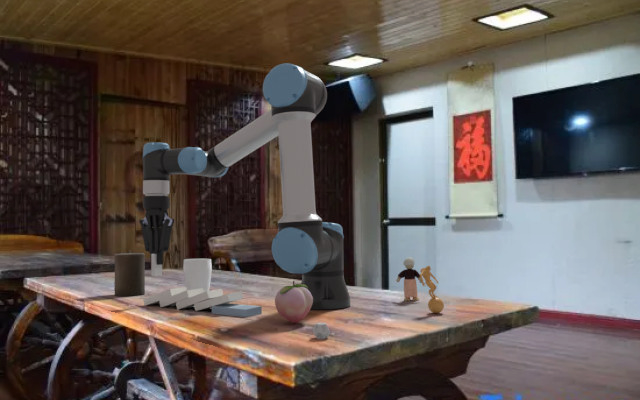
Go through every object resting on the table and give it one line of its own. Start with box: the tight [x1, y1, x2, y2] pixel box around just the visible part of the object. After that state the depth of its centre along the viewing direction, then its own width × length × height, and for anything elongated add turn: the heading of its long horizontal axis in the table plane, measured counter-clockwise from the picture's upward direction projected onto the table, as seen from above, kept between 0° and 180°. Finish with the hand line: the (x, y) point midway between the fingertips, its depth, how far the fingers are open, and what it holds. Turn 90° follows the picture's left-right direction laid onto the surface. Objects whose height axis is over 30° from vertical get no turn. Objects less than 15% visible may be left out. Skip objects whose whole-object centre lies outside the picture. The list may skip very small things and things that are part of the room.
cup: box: [182, 258, 213, 292], centre depth 184 cm, size 9×9×12 cm
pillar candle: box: [113, 249, 146, 297], centre depth 192 cm, size 10×10×15 cm
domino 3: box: [175, 288, 224, 311], centre depth 157 cm, size 2×6×12 cm
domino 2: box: [159, 288, 204, 308], centre depth 161 cm, size 2×6×12 cm
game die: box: [311, 322, 331, 340], centre depth 117 cm, size 4×4×3 cm
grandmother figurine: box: [396, 256, 422, 302], centre depth 170 cm, size 8×4×13 cm, turn 92°
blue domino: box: [211, 302, 263, 318], centre depth 150 cm, size 2×6×12 cm
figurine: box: [419, 265, 445, 314], centre depth 147 cm, size 8×6×12 cm
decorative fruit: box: [274, 280, 313, 324], centre depth 134 cm, size 9×8×10 cm
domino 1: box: [142, 286, 187, 306], centre depth 165 cm, size 2×6×12 cm
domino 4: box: [193, 291, 244, 312], centre depth 154 cm, size 2×6×12 cm
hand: (156, 275), depth 168 cm, fingers closed
